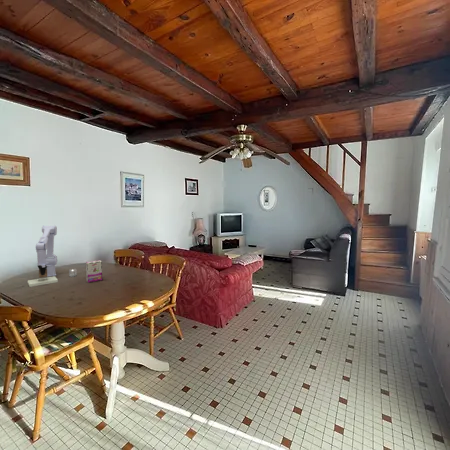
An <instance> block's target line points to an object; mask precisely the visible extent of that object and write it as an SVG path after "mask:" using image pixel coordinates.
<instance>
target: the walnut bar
mask: <svg viewBox="0 0 450 450" xmlns="http://www.w3.org/2000/svg"><path fill="white" fill-rule="evenodd" d="M38 277H39V278H38V279H41V278H47V269H46V271H45V275H41V272H40V269H39V268H38Z"/></svg>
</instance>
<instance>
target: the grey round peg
mask: <svg viewBox="0 0 450 450" xmlns="http://www.w3.org/2000/svg"><path fill="white" fill-rule="evenodd" d="M77 271H78V270H77V268H70V269H68V275H69V278H75V277H77V275H78V272H77Z"/></svg>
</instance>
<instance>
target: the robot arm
mask: <svg viewBox="0 0 450 450" xmlns="http://www.w3.org/2000/svg"><path fill="white" fill-rule="evenodd" d="M57 230H58V229H57V226H56V225H42V226H41V232H42V236H40V237H39V240H38V242H37V243H36V244H35V250H36V255H37V263H36V265H37V267H38V270H39V269H40V272H41V275H45V271H46V269H47V277H53V276H55V277H56V276H57V273H56V265H57V263H58V256H57V255H56V254H54V244H55V236H56V235H57V233H58V231H57ZM47 277H46V278H47Z"/></svg>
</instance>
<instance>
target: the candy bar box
mask: <svg viewBox="0 0 450 450" xmlns="http://www.w3.org/2000/svg"><path fill="white" fill-rule="evenodd" d="M85 264H86V265H85V267H86V268H85V269H86V270H85V272H86V274H85V275H86V282H87V283H93V282H99V281H103V262H102V260H100V259H99V260H93V261H86V262H85Z"/></svg>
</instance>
